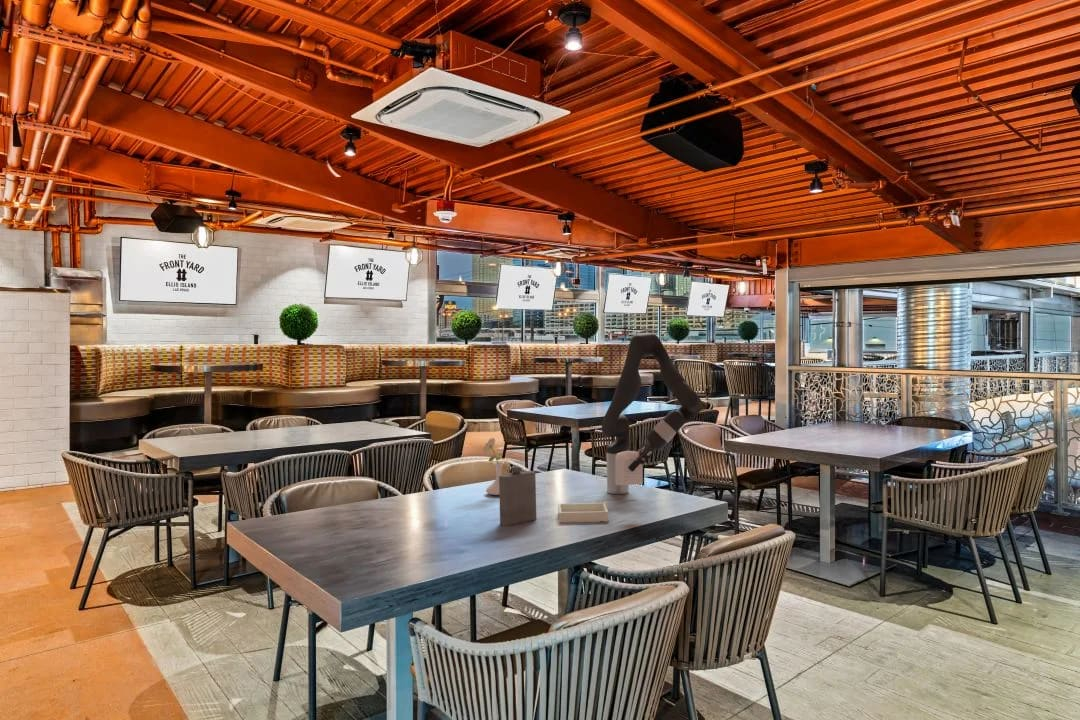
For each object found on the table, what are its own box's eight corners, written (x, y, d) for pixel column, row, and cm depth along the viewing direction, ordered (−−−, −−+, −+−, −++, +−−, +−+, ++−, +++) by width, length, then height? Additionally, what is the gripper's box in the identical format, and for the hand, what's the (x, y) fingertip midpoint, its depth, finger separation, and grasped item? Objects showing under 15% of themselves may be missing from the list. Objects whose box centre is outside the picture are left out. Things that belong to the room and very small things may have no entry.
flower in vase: (501, 490, 292) (499, 434, 292) (517, 494, 284) (516, 436, 283) (477, 495, 283) (476, 437, 283) (494, 499, 275) (492, 439, 275)
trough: (558, 513, 250) (558, 503, 250) (604, 511, 250) (604, 502, 250) (559, 522, 236) (559, 512, 236) (608, 521, 236) (608, 511, 236)
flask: (530, 516, 245) (528, 463, 245) (539, 519, 241) (537, 465, 240) (496, 523, 237) (494, 468, 236) (504, 526, 232) (503, 470, 232)
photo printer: (641, 482, 246) (640, 449, 245) (644, 484, 241) (643, 451, 241) (614, 483, 244) (613, 450, 244) (617, 486, 240) (616, 452, 240)
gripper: (650, 425, 250) (619, 458, 250) (657, 430, 235) (624, 465, 235) (664, 439, 250) (633, 471, 250) (672, 445, 235) (639, 479, 236)
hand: (629, 468), depth 243 cm, fingers closed on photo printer, 4 cm apart
